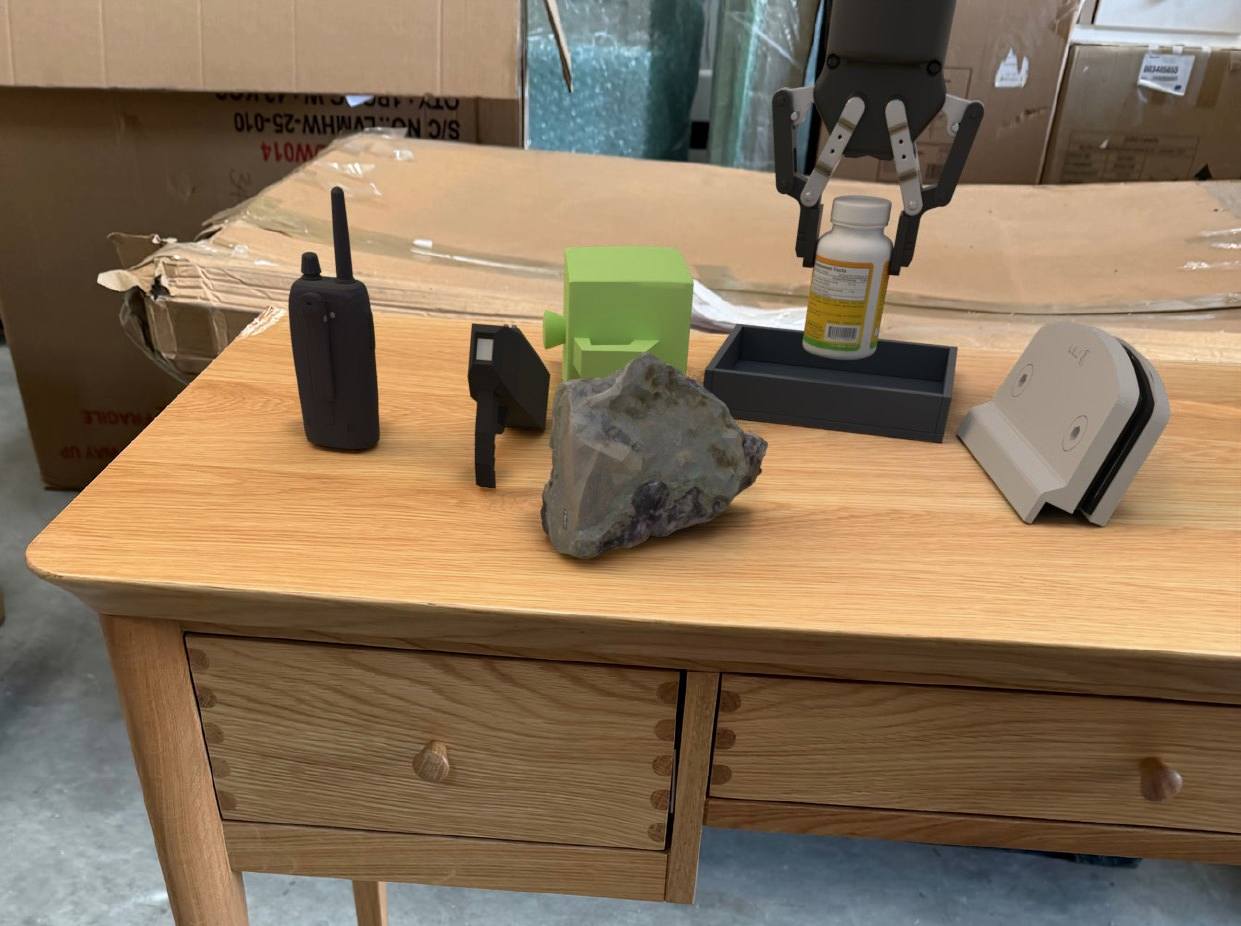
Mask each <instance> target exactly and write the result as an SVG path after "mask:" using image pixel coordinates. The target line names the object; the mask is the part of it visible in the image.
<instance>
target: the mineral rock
mask: <svg viewBox="0 0 1241 926" xmlns="http://www.w3.org/2000/svg"><path fill="white" fill-rule="evenodd" d="M552 399H553V400H552V405H551V409H552V410H551V417H552V420H553V423H552V429H551V434H550V437H549V439H548V447H549V448H550V449H552V453H551V465H552V467H551V471H550V475H549V476H550V477H549V480H548V481H547V483H545V484H544V486H543V490H542V493H541V501H542V505H541V507H540V511H539V513H540V520H541V526H542V532H544V534H545V535H547V536H548V537H549V540H550V543H551V546H552V548H554V550H555V552H557V553H559V554H566V555H569V556H570V555H571V556H573V557H574V558H578V559H582V560H588V559H593V558H596V557H598V556H600V555H601V553H602V552H609V551H610V552H611V551H616V550H617V549H619V548H621V549H630V548H633V547H635V546H638V545H639V544H642V543H643V542H646V541H647V540H648V539H649V538H650V536H653V537H655V538H662V537H663V538H664V537H669V536H670V535H671V534H672V533H673V532H676V531H677V530H678V531H679V530H682V529H685V528H689V527H691V526H696V525H704V524H706V523H708V522H709V521H712V520H713V519H714V518H715V517H718V515H720V514H721V513H723V512H724V511H725V510H726V509H727V508H728V506H730V504H731V503H732V502H733V501H734V499H735V498H736V497H737V496H738V495H740V494H741V493H742V492H743V491H745V490H746V489H748V488H750V487H752V486H753V484H755V483H756V481H757V478H758V477H759V476H760V475H761V474H762V473H763V469H762V468H761V466H762V464H763V463H762V462H763V460H764V457H765V456H767V455H766V454H767V449H768V448H769V443H768V441H767V440H765V438H762V437H761V436H758V435H757V434H755V433H753V432H749V431H747V432H745V431H744V430H743V428H741V426H740V425H739V424H738V423H737V421H736V420H735V418H733V417H732V416H731V415H730V412H729V409H728V408H727V406H726V404H725V403H724V402H722V401H721V400H719V399H718V398H717V397H716V396H715V395H714V394H712V393H711V392H710V391H709V390H707V389H706V388H704V387H703V384H702V383H700V382H699V381H698V380H696V379H694V378H690V377H688V376H686V377H684V375H683V374H682V372H681V371H680V370H678V369H677V368H674V367H673V366H671V365H669V364H667V363H664V362H662V361H661V360H660V359H659V358H657V357H655V356H654V355H652V354H650V353H646V352H642V354H641V355H640V356H639V357H638V358H637V359H632V360H631V361H630V362H629V363H628V364H627V365H626V366H625V367H624V368H623V369H622V370H616V371H615V372H614V373H612V374H611V375H610V376H608V377H606V378H600V377H598V378H595V379H592V380H589V379H586V378H582V379H575V380H569V381H563V380H562V381H560V382H559V384H558V387H557V389H556V390H555V393H554V395H553V398H552Z"/></svg>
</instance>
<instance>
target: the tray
mask: <svg viewBox="0 0 1241 926" xmlns="http://www.w3.org/2000/svg"><path fill="white" fill-rule="evenodd" d="M803 335H804V330H802V329H792V328H782V327H774V326H773V327H771V326H762V325H755V324H754V325H753V324H743V323H736V324H735V325H734V327H733V328H732V330H731V331H730V333H729V334H728V336H727V337H726V339H725V340H724V341H723V343H722V344H721V345H720V347H719V348H718V350H717V351H716V353H715V354H714V356H713V358H711V360H710V362H709V363H708V365H707V366H706V367H705V368H704V375H703V384H702V386H703V387H704V388H706V389H707V390H709V391H710V392H711V393H712V394H714V395H715V396H716V397H717V398H718V399H719V400H721V401H722V402H724V403H725V404H726V406H727V408H728V409H729V412H730V415H731V416H732V417H733V419H739V420H745V421H746V420H747V421H755V422H764V423H773V424H779V425H789V426H797V427H805V428H812V429H820V430H821V429H822V430H830V431H837V432H847V433H854V434H861V435H862V434H863V435H871V436H878V437H888V438H894V439H895V438H897V439H904V440H912V441H922V442H929V443H937V444H939V443H940V444H942V443H943V439H944V435H945V431H946V427H947V421H948V418H949V414H950V413H949V412H950V410H951V409H950V408H951V404H952V400H953V393H954V385H955V384H954V383H955V375H956V368H957V367H956V366H957V360H958V359H957V358H958V349H959V347H958V346H952V345H943V344H936V343H935V344H933V343H925V342H914V341H905V340H896V339H886V338H878V342H877V347H876V350H875V352H874V353H873V354H872V355H871V356H869V357H866V358H862V359H857V360H838V359H830V358H825V357H820V356H817V355H814V354H811V353H809V352H807V351H806V350H805V349H804V347H803Z"/></svg>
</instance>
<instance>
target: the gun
mask: <svg viewBox="0 0 1241 926" xmlns="http://www.w3.org/2000/svg"><path fill="white" fill-rule="evenodd" d="M510 326H511V327H510ZM510 326H509V324H507V323H503V325H501V324H500V325H498V324H486V323H485V324H484V323H471V328H470V329H471V330H470V340H469V341H470V342H469V354H468V367H467V384H468V391H469V397H470V398H472V400H473V401H474V402H475V403H476V408H475V411H476V412H475V425H474V476H475V485H476V486H477V487H479V488H484V489H493V490H494V489H497V478H496V476H497V475H496V469H495V468H496V456H495V455H496V450H497V449H496V446H497V445H496V436H497V435H500V436H501V435H503V434H504V433H505V430H506V429H513V430H524V431H534V432H535V431H537V432H546V425H547V414H548V405H549V395H550V383H551V372H549V370H548V368H547V366H546V365H545V364H544V362H543V360H542V358H541V357H540V355H539V354H538V353H537V351H536V349H535V348H534V347H533V346H532V344H531V343H530V341H529V339H527V337H526V335H525V334H524V333H523V331H521V329H520V328H519V327H518V326H517V325H516V324H511V325H510Z"/></svg>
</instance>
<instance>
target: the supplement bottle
mask: <svg viewBox="0 0 1241 926" xmlns="http://www.w3.org/2000/svg"><path fill="white" fill-rule="evenodd" d="M831 204H832V205H831V212H830V218H829V221H830V222H829V223H831V224H832V226H831V230H829V231H826V232H824V233H823V234H821V235H820V236H819V240H818V241H817V245H816V250H815V257H814V264H813V268H812V273H811V277H810V278H811V280H810V286H809V292H808V299H807V305H806V306H807V308H806V313H805V314H806V315H805V322H804V327H803V328H804V329H803V331H804V335H803V347H804V349H805V350H806V351H807V352H809V353H811V354H814V355H817V356H820V357H825V358H830V359H838V360H857V359H862V358H866V357H869V356H871V355H872V354H873V353H874V352H875V350H876V347H877V342H878V339H879V335H880V329H881V324H882V318H883V312H884V307H885V302H886V297H887V291H888V285H889V280H890V275H889V271H890V265H891V260H892V254H893V249H894V242H893V241H892V239H891V238H890V237H889V236H887V235H886V234H885V232H884V231H885V228H886V227H888V226H889V222H890V219H891V214H892V213H891V212H892V207H893V202H892V201H891V200H890V199H888V198H884V197H881V196H880V197H879V196H874V195H863V194H862V195H860V194H847V195H839V196H836V197H834V198H833V200H832V203H831Z"/></svg>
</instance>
